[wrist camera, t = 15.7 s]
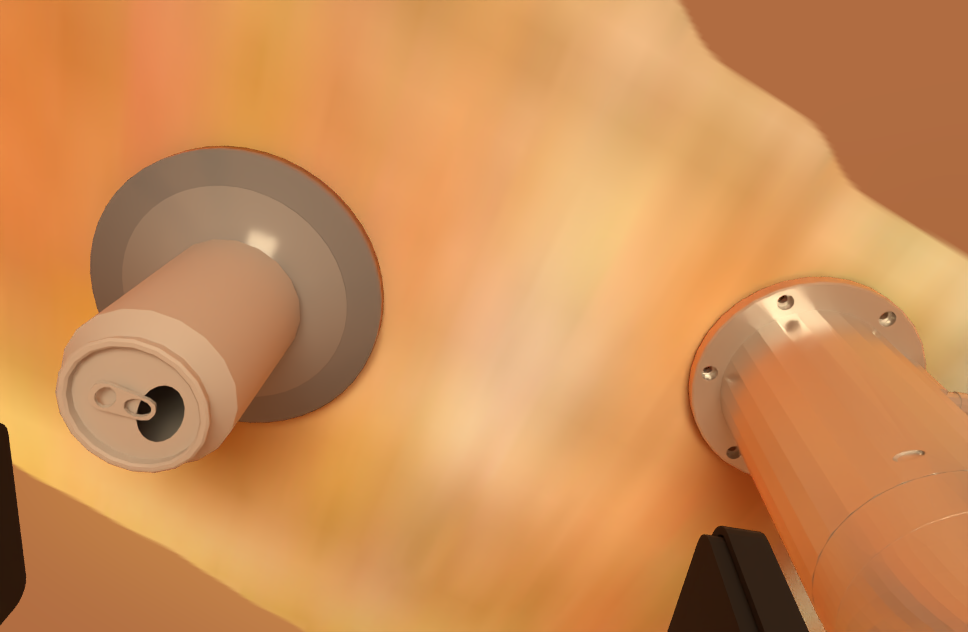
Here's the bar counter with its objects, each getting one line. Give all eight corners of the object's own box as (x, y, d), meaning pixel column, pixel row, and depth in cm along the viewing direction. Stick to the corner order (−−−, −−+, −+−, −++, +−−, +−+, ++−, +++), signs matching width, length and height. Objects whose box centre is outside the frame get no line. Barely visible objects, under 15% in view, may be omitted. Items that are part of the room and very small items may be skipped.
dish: (398, 172, 39) (393, 177, 37) (370, 431, 45) (366, 442, 44) (93, 122, 38) (79, 126, 37) (109, 389, 45) (97, 400, 44)
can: (273, 382, 42) (184, 516, 31) (150, 321, 41) (14, 438, 30) (327, 277, 40) (250, 383, 29) (198, 208, 39) (66, 291, 28)
